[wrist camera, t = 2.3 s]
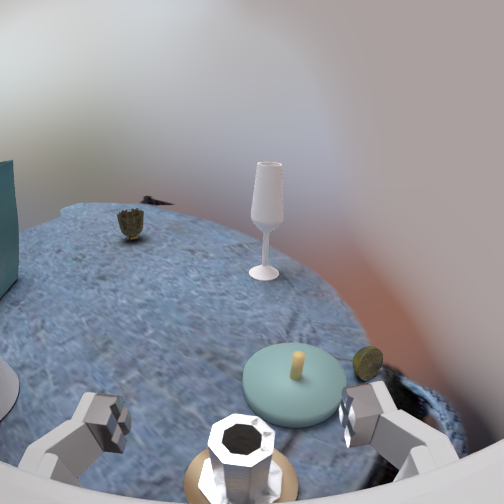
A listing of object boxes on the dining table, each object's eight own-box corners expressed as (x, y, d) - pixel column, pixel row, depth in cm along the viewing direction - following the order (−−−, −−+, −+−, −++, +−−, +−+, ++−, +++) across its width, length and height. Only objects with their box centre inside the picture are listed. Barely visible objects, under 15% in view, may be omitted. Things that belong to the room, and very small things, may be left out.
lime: (380, 368, 45) (389, 344, 43) (372, 388, 41) (382, 364, 39) (354, 359, 47) (361, 335, 45) (344, 379, 43) (352, 355, 41)
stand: (228, 553, 20) (228, 551, 20) (165, 473, 29) (163, 469, 28) (319, 492, 27) (321, 488, 27) (250, 429, 35) (251, 424, 35)
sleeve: (232, 529, 22) (230, 499, 18) (187, 474, 28) (173, 427, 24) (296, 488, 27) (313, 444, 23) (248, 441, 33) (250, 388, 28)
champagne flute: (245, 277, 70) (248, 165, 60) (253, 263, 76) (257, 160, 65) (276, 282, 68) (283, 168, 58) (281, 268, 74) (289, 162, 64)
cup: (145, 233, 91) (142, 206, 87) (146, 243, 85) (144, 214, 81) (120, 236, 88) (117, 209, 85) (120, 246, 82) (116, 218, 79)
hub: (290, 446, 33) (297, 416, 30) (222, 380, 43) (221, 347, 40) (361, 390, 41) (373, 358, 38) (294, 342, 51) (299, 310, 48)
